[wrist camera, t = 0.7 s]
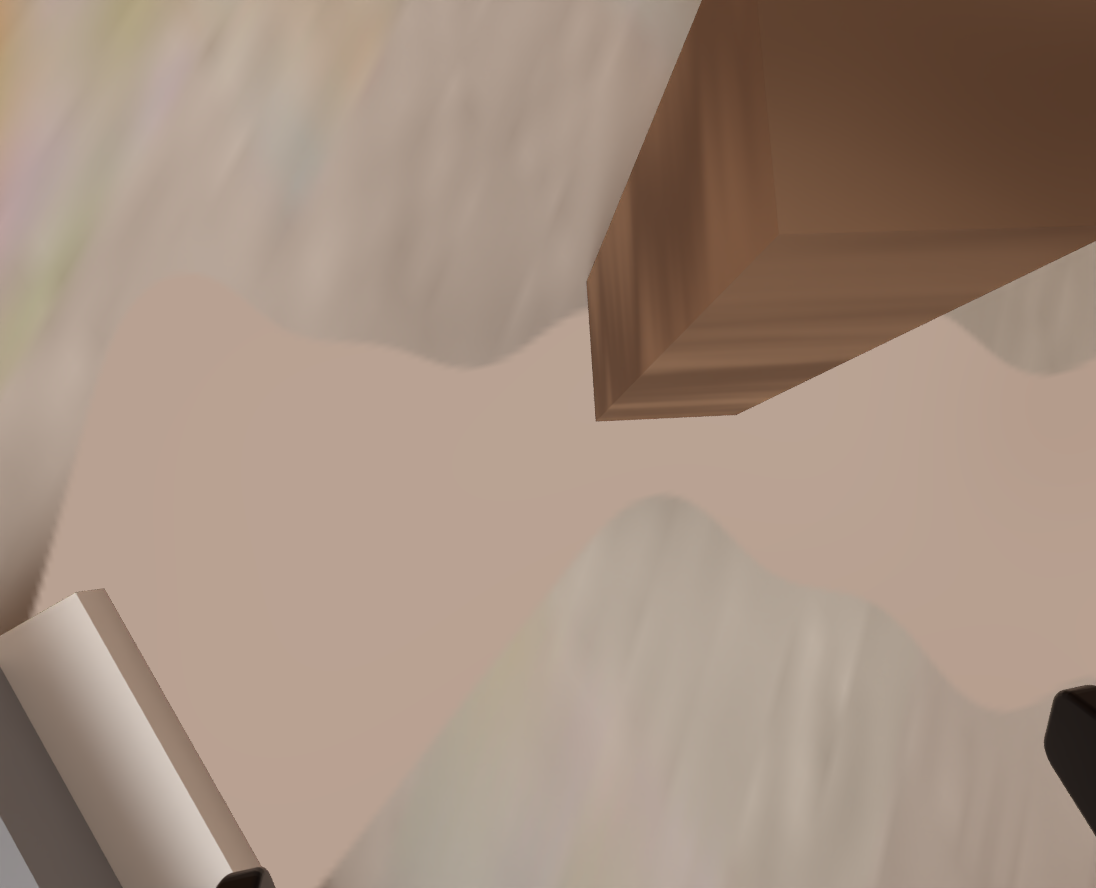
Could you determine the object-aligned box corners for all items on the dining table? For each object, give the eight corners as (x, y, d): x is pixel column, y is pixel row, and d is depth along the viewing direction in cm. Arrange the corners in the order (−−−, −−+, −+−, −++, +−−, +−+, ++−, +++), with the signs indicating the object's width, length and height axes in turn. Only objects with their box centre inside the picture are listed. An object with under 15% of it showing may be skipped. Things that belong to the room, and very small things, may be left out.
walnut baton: (736, 414, 23) (1129, 224, 9) (595, 421, 23) (778, 234, 9) (724, 276, 23) (1082, -106, 9) (586, 281, 23) (746, -109, 9)
